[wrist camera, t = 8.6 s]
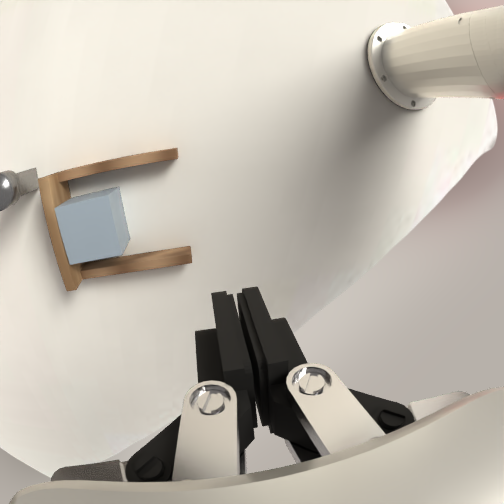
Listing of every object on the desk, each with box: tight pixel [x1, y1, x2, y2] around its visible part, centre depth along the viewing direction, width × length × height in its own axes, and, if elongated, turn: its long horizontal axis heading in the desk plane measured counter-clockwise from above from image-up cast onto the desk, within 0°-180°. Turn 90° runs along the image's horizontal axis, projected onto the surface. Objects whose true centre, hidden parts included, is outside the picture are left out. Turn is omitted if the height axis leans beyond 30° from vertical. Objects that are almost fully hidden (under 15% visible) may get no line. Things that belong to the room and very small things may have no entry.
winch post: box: [0, 168, 39, 211], centre depth 22 cm, size 4×4×10 cm
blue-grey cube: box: [54, 187, 130, 265], centre depth 28 cm, size 6×6×5 cm
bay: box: [38, 148, 192, 291], centre depth 28 cm, size 14×12×5 cm
